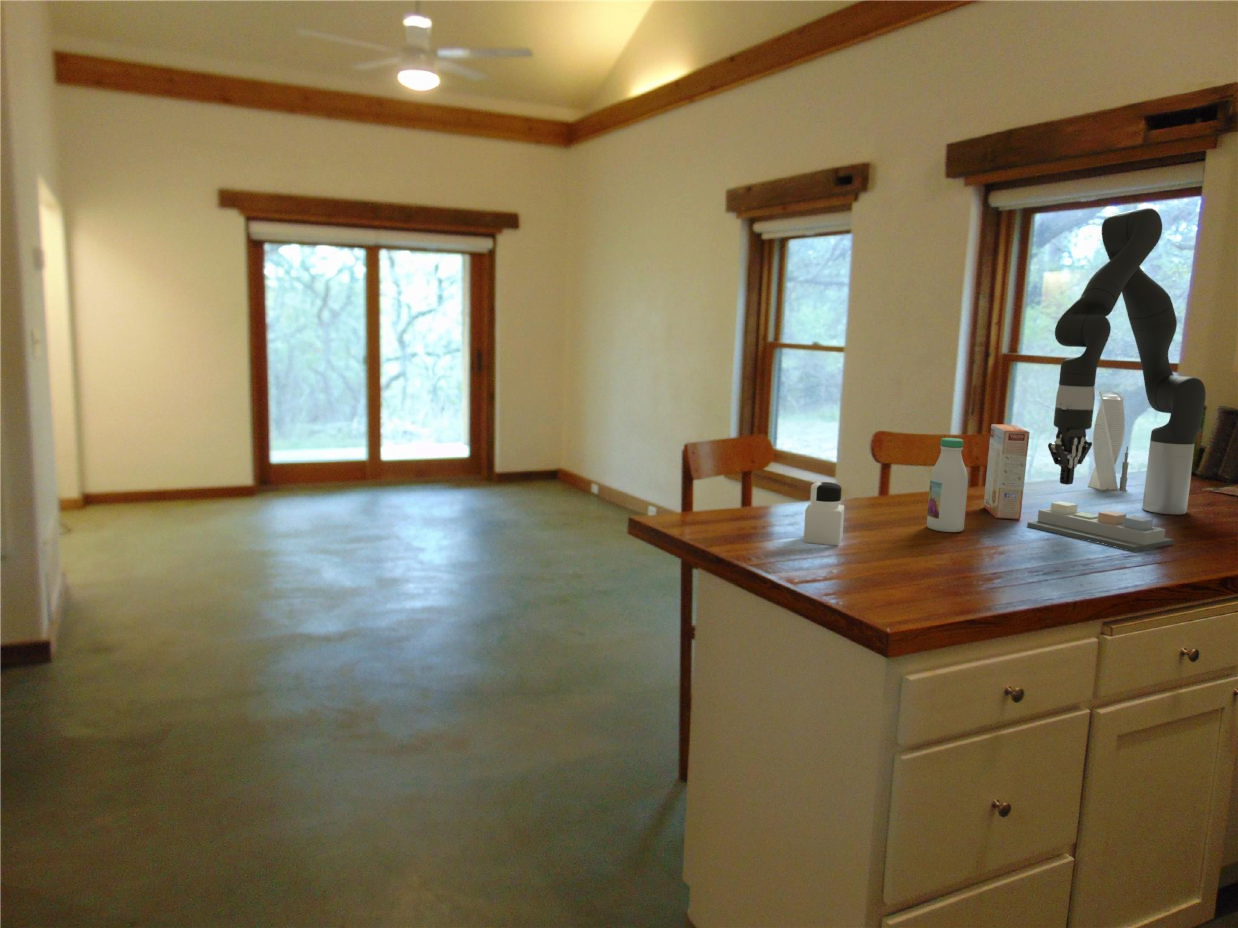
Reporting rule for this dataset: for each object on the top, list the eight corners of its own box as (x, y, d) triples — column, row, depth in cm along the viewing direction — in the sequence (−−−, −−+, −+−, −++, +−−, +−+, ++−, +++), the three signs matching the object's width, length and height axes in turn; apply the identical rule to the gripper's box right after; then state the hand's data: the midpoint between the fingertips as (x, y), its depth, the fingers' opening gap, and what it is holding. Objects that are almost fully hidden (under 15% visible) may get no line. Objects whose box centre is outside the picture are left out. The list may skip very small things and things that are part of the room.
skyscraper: (1101, 492, 242) (1112, 390, 237) (1080, 487, 250) (1090, 388, 245) (1127, 492, 243) (1139, 390, 239) (1106, 486, 251) (1116, 388, 247)
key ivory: (1060, 513, 200) (1061, 501, 199) (1076, 516, 197) (1077, 504, 196) (1050, 514, 198) (1051, 502, 198) (1065, 518, 195) (1067, 505, 194)
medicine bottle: (842, 538, 184) (846, 481, 182) (839, 546, 177) (842, 487, 175) (807, 535, 186) (810, 479, 184) (803, 542, 179) (806, 484, 177)
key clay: (1107, 523, 191) (1109, 510, 190) (1125, 526, 187) (1126, 514, 187) (1097, 525, 189) (1098, 512, 188) (1114, 528, 185) (1116, 515, 185)
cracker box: (1022, 520, 204) (1030, 430, 200) (994, 519, 205) (1002, 429, 201) (1008, 508, 217) (1016, 424, 214) (982, 506, 218) (990, 423, 215)
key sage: (1082, 524, 195) (1084, 512, 195) (1099, 528, 192) (1100, 515, 192) (1072, 526, 194) (1073, 514, 193) (1088, 530, 190) (1090, 517, 190)
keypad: (1065, 520, 204) (1067, 505, 204) (1172, 544, 184) (1174, 527, 183) (1027, 526, 198) (1028, 511, 197) (1134, 551, 177) (1136, 534, 176)
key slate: (1133, 528, 186) (1134, 515, 185) (1151, 532, 183) (1152, 519, 182) (1122, 530, 184) (1124, 517, 184) (1140, 534, 181) (1142, 521, 180)
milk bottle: (964, 527, 196) (972, 438, 192) (962, 534, 189) (970, 442, 186) (928, 523, 199) (935, 435, 196) (924, 530, 192) (931, 439, 189)
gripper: (1076, 404, 200) (1068, 479, 203) (1040, 405, 193) (1032, 483, 196) (1108, 407, 194) (1099, 484, 196) (1072, 408, 187) (1063, 489, 190)
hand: (1066, 483), depth 196 cm, fingers closed
